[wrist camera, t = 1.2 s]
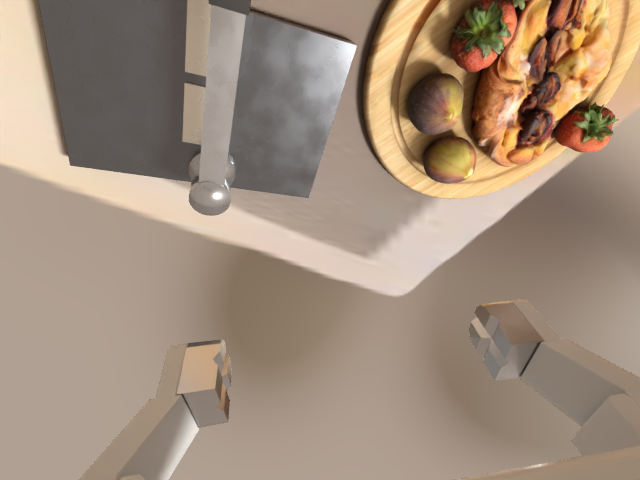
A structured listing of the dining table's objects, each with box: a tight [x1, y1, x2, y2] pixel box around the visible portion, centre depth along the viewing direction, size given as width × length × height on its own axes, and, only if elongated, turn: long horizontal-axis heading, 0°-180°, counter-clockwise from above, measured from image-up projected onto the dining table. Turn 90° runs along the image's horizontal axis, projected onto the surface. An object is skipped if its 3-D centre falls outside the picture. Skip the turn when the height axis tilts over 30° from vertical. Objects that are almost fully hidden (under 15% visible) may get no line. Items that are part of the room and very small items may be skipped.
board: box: [38, 0, 357, 198], centre depth 33 cm, size 18×26×5 cm
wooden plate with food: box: [363, 0, 640, 199], centre depth 36 cm, size 32×32×8 cm
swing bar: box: [189, 0, 251, 216], centre depth 30 cm, size 21×4×2 cm, turn 163°
